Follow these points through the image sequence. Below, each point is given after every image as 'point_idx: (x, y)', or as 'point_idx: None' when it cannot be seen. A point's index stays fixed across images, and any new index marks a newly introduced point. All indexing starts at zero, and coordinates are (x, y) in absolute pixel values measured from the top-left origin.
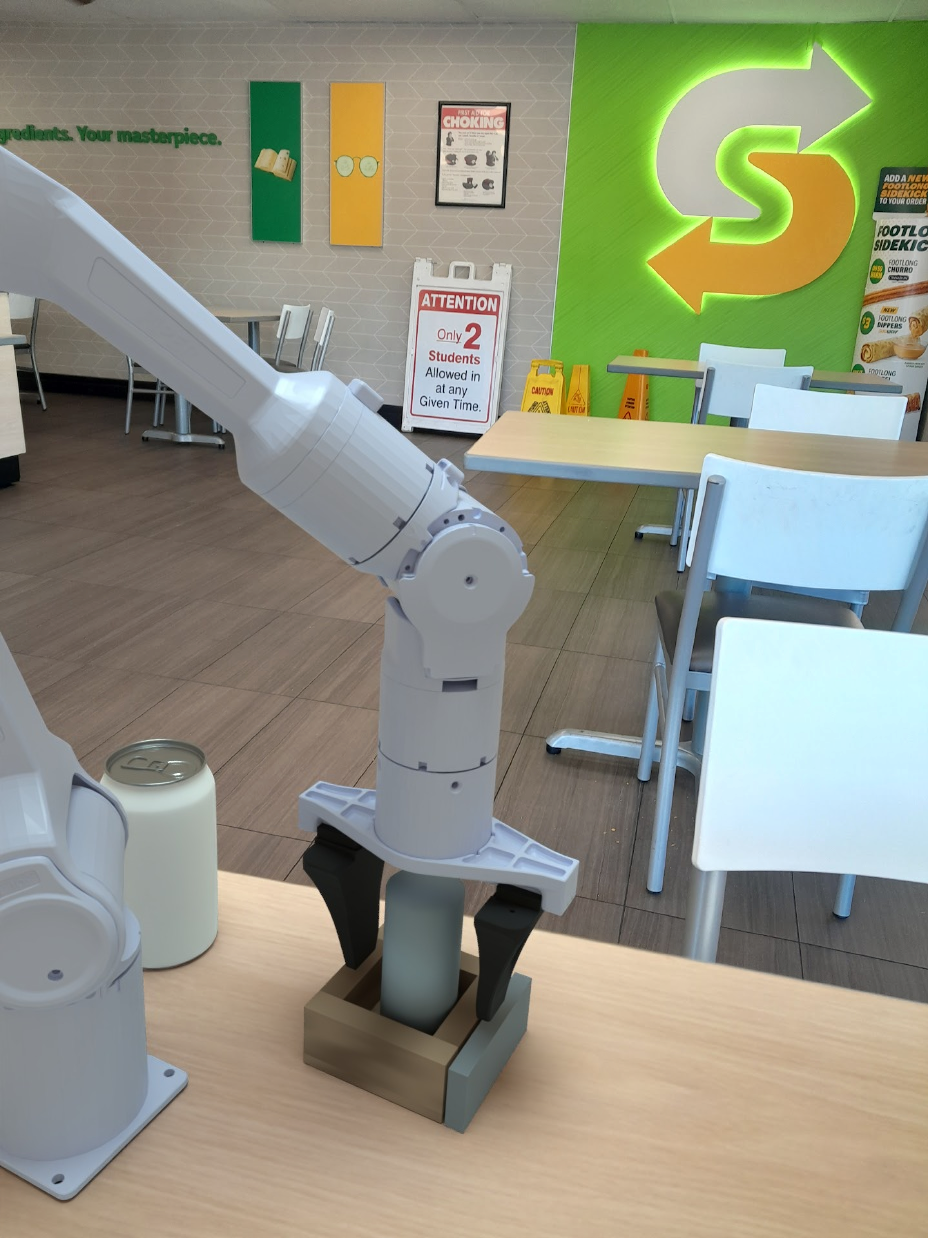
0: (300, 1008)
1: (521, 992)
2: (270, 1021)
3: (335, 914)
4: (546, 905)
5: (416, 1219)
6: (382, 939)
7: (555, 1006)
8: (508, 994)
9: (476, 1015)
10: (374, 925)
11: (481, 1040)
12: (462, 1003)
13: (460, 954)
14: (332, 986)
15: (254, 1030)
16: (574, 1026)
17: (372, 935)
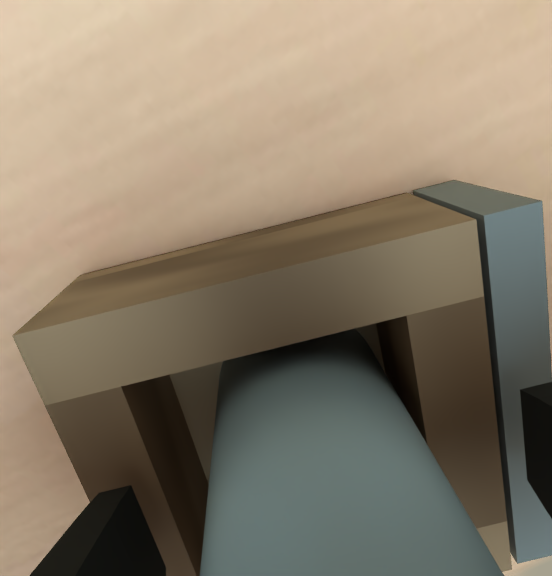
0: (56, 453)
1: (542, 274)
2: (50, 506)
3: None
4: None
5: (503, 572)
6: (82, 396)
7: (468, 50)
8: (514, 306)
9: (535, 491)
10: (104, 566)
11: None
12: (434, 420)
13: (458, 499)
14: None
15: (52, 534)
16: (538, 80)
17: (121, 552)
